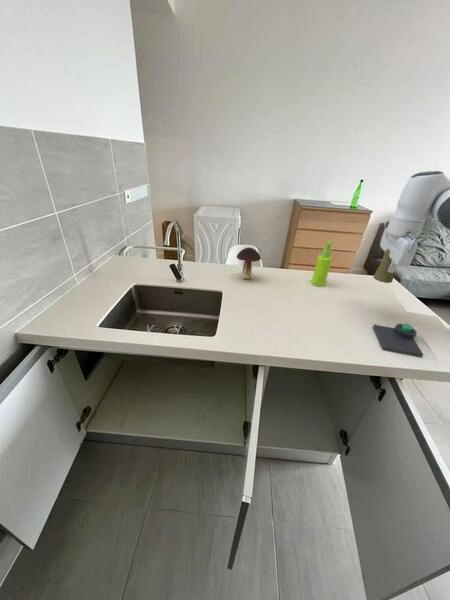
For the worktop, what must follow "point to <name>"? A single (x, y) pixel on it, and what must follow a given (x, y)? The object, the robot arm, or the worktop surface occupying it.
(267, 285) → the worktop surface
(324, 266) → the soap dispenser
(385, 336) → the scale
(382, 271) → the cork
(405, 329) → the power button
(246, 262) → the decorative mushroom
